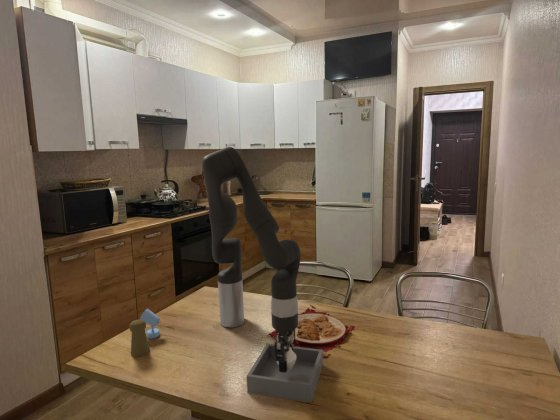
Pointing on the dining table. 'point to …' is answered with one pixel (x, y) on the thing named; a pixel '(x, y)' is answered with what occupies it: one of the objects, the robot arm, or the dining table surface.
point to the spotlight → (153, 320)
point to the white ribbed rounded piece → (290, 359)
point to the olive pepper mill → (139, 338)
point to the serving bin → (286, 375)
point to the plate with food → (318, 330)
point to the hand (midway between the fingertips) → (286, 364)
